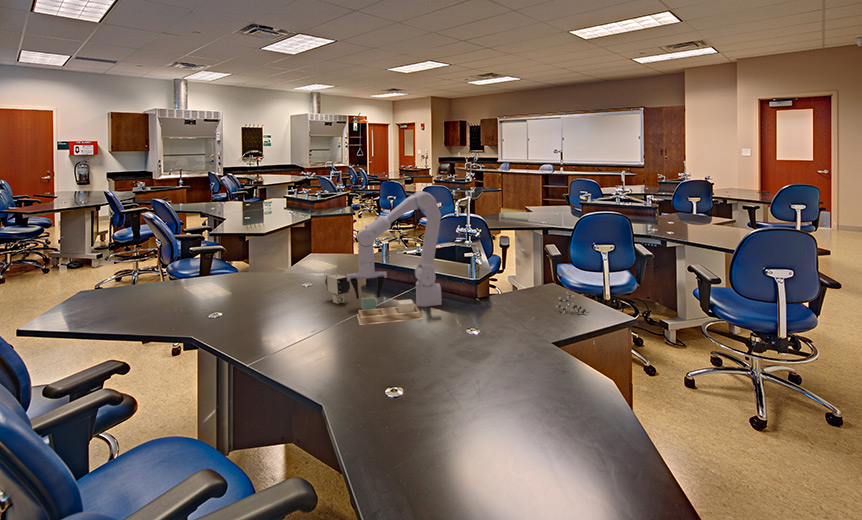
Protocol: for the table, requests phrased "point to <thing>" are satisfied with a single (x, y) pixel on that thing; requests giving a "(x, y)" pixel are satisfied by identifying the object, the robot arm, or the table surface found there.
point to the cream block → (405, 306)
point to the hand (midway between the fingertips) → (367, 297)
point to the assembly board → (386, 315)
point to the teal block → (368, 303)
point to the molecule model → (570, 306)
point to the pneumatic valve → (337, 286)
